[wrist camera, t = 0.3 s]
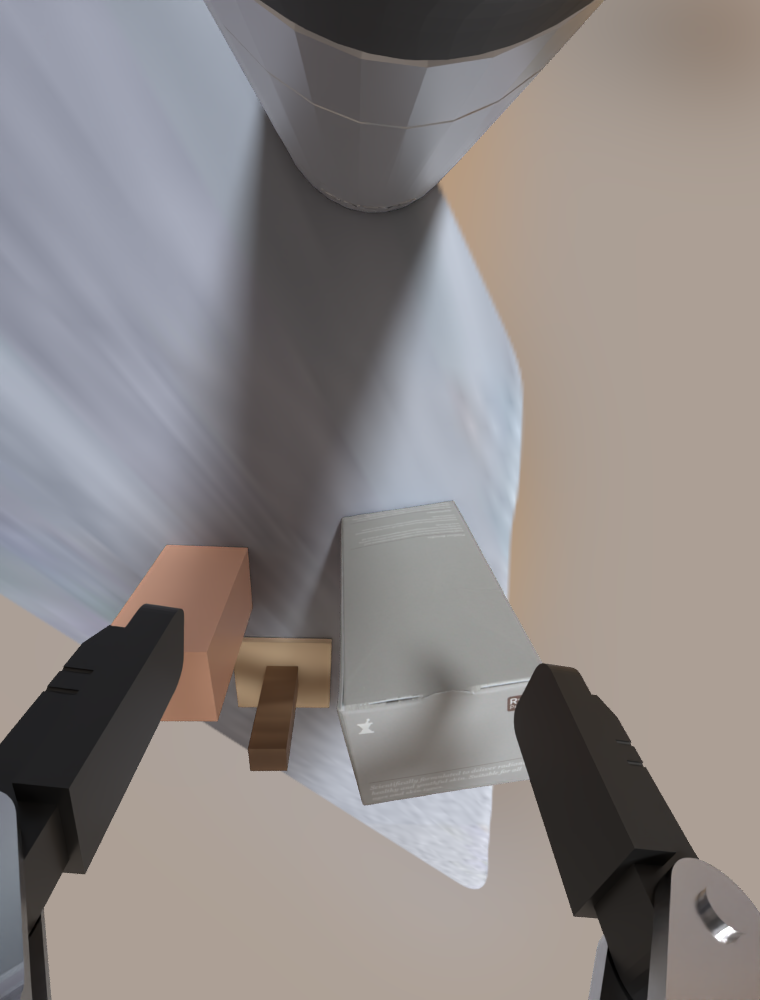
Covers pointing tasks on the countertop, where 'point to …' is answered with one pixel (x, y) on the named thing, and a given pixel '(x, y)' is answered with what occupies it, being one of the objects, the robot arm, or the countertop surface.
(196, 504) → the countertop surface
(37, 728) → the robot arm
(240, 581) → the tan rectangular prism
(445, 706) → the skincare box
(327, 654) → the wooden peg stand
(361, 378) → the countertop surface
